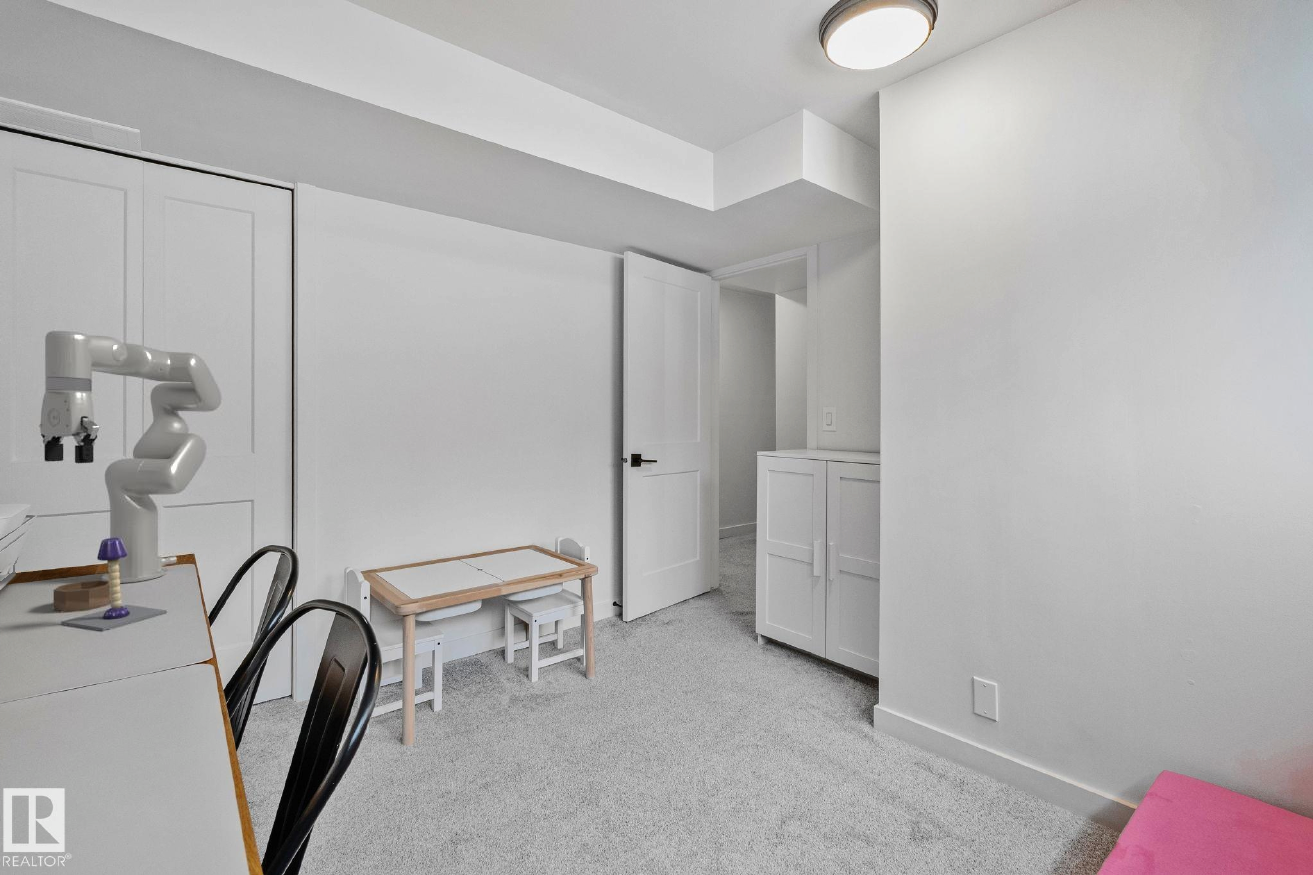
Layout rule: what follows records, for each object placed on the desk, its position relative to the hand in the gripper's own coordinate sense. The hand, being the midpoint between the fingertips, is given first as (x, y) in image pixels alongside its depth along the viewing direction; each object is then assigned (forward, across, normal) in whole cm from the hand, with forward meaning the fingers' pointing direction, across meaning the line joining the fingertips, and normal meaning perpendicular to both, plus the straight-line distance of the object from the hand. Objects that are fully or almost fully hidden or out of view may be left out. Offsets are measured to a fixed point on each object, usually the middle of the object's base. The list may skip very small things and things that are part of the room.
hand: (69, 462), depth 135 cm
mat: (+32, +21, -4) cm, 39 cm away
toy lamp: (+32, +22, -4) cm, 39 cm away
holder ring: (+32, +5, 0) cm, 33 cm away
